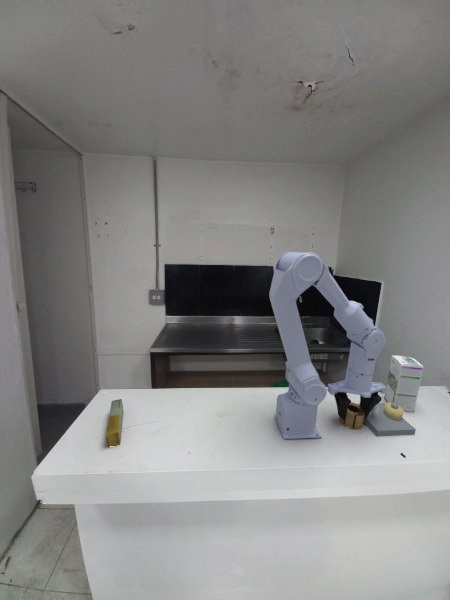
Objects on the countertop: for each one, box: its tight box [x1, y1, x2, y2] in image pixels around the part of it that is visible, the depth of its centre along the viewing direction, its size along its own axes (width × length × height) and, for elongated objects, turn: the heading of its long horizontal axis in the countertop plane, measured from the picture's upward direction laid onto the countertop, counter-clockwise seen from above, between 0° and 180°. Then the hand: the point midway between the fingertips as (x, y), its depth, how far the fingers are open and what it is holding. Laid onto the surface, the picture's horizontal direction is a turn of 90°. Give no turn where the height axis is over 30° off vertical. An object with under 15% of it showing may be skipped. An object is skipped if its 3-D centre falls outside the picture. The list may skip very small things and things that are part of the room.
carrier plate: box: [357, 401, 417, 437], centre depth 62 cm, size 10×10×5 cm
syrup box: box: [383, 354, 425, 413], centre depth 67 cm, size 6×6×14 cm
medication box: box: [105, 398, 124, 448], centre depth 57 cm, size 12×3×4 cm, turn 20°
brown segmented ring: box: [338, 402, 366, 430], centre depth 61 cm, size 5×5×4 cm
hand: (351, 416), depth 61 cm, fingers closed on brown segmented ring, 5 cm apart
